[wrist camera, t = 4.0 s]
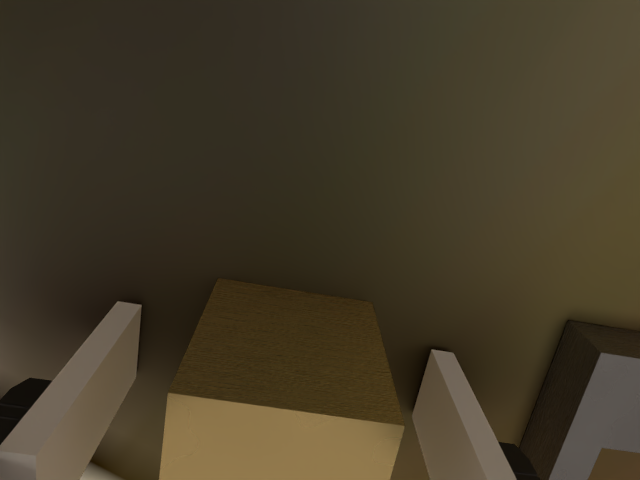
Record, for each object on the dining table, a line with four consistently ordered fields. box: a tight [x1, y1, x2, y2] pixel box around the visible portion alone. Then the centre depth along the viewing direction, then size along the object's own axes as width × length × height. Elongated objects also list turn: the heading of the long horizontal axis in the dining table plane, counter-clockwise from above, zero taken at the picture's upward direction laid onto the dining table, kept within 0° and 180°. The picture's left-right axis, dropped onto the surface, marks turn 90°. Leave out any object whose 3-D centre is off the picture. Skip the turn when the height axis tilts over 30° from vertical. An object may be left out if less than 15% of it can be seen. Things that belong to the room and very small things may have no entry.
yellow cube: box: [159, 278, 405, 480], centre depth 14 cm, size 5×5×6 cm
